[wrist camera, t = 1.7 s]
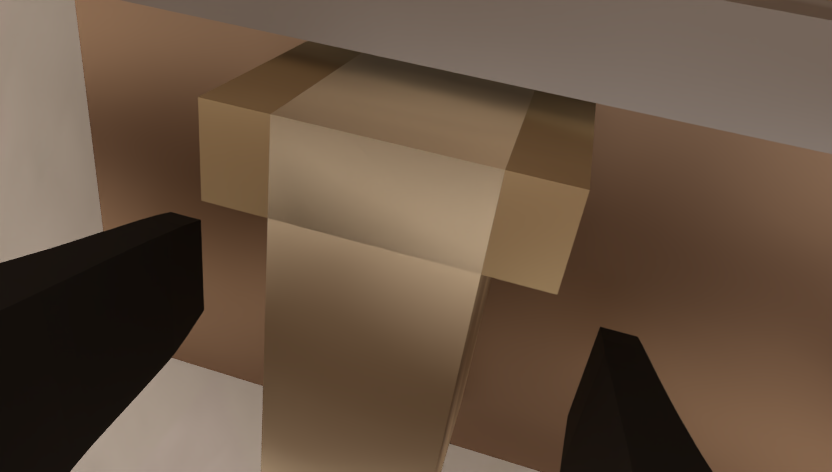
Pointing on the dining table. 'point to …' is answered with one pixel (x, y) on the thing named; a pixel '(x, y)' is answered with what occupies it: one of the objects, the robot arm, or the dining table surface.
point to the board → (603, 213)
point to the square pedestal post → (387, 238)
